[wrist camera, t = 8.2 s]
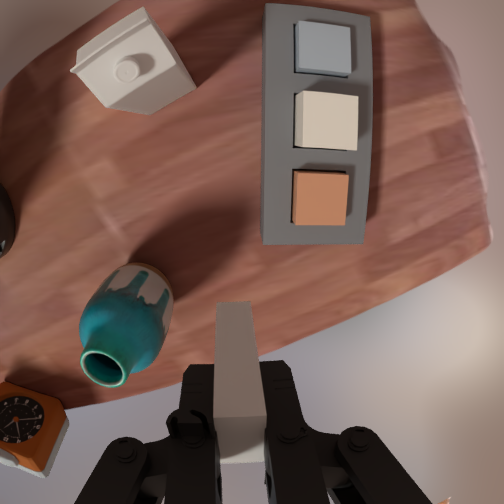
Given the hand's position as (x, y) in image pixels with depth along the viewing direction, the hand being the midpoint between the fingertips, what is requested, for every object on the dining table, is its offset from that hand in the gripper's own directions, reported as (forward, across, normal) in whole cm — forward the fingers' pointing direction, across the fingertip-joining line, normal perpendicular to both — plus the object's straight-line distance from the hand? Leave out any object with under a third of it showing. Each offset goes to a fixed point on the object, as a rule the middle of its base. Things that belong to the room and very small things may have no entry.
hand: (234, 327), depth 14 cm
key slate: (+28, +11, +19) cm, 36 cm away
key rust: (+28, +11, +1) cm, 30 cm away
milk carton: (+30, -9, +16) cm, 35 cm away
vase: (+30, -13, -13) cm, 35 cm away
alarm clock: (+30, -48, -44) cm, 72 cm away
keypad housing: (+29, +11, +10) cm, 33 cm away
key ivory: (+26, +11, +10) cm, 30 cm away
